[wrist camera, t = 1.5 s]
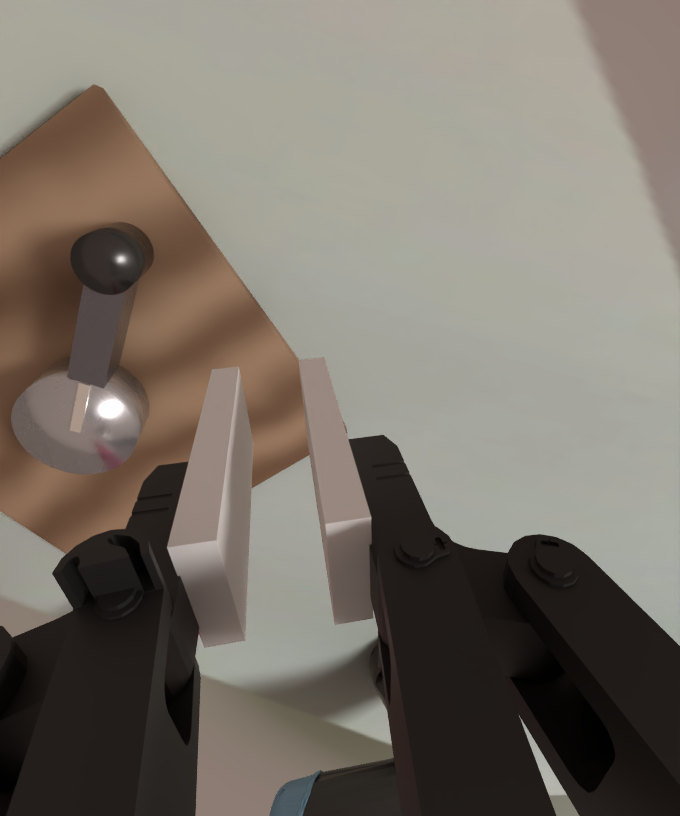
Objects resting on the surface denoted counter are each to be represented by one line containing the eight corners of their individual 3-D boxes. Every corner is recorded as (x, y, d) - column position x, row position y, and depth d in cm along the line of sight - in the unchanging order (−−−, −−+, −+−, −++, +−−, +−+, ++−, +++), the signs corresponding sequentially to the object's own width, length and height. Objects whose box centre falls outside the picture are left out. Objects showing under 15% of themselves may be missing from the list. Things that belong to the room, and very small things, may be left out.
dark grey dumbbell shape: (137, 454, 32) (120, 494, 28) (31, 428, 30) (-3, 469, 26) (195, 248, 26) (183, 264, 22) (66, 195, 23) (26, 202, 19)
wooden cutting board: (344, 423, 36) (347, 434, 34) (105, 562, 40) (99, 577, 38) (103, 88, 23) (92, 83, 21) (-219, 343, 27) (-247, 354, 25)
